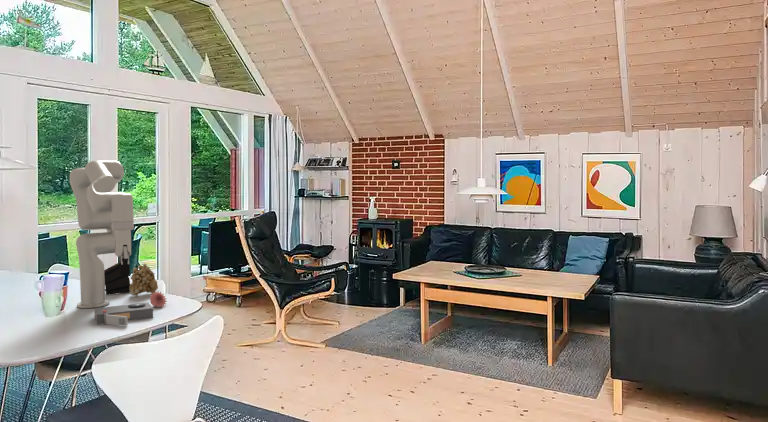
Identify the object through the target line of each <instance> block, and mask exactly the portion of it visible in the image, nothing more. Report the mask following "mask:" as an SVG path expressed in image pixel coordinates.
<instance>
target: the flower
mask: <svg viewBox="0 0 768 422" xmlns="http://www.w3.org/2000/svg"><path fill="white" fill-rule="evenodd" d="M152 293H153V294H152ZM152 293H150V295H149V298H150V299H149V301H150V302H149V304H150V305H151V306H152V307H157V308H159V307H160V308H162V307H165V305H166V304H167V302H168V300H167V298H166V295H165V294H164V293H162V292H161V291H160V292H159V291H157V290H156V291H155V293H154V292H152Z"/></svg>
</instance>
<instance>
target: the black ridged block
mask: <svg viewBox="0 0 768 422" xmlns="http://www.w3.org/2000/svg"><path fill="white" fill-rule="evenodd" d="M104 276H105V295H106V296H108V295H109V294H110V295H116V293H119V294H127V293H126V292H128V293H130V289H129V288H130V284H131V281H130V280H131V279H130V277H129V276H130V275H121V274H120V273H119V262H117V263H115V264H113V265H111V266H109V267H107V268H106V269H104Z"/></svg>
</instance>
